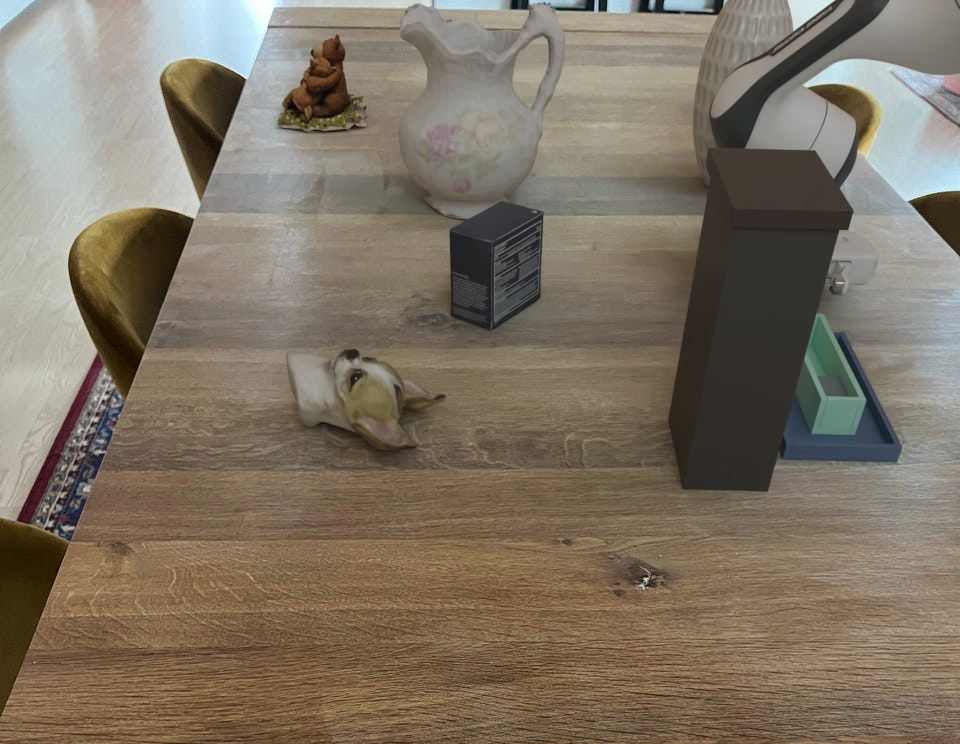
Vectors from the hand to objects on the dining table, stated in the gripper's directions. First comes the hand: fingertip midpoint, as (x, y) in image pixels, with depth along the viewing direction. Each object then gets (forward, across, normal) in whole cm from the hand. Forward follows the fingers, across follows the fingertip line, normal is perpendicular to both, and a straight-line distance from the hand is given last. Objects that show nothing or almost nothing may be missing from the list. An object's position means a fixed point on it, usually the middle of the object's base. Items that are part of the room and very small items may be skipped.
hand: (798, 287), depth 109 cm
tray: (+14, 0, -6) cm, 15 cm away
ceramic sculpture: (+22, +47, -6) cm, 52 cm away
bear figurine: (-72, +64, -7) cm, 97 cm away
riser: (+25, +12, -6) cm, 28 cm away
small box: (-5, +34, -6) cm, 35 cm away
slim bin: (+12, 0, -5) cm, 14 cm away
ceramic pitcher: (-37, +37, -6) cm, 53 cm away
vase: (-47, 0, -6) cm, 48 cm away
